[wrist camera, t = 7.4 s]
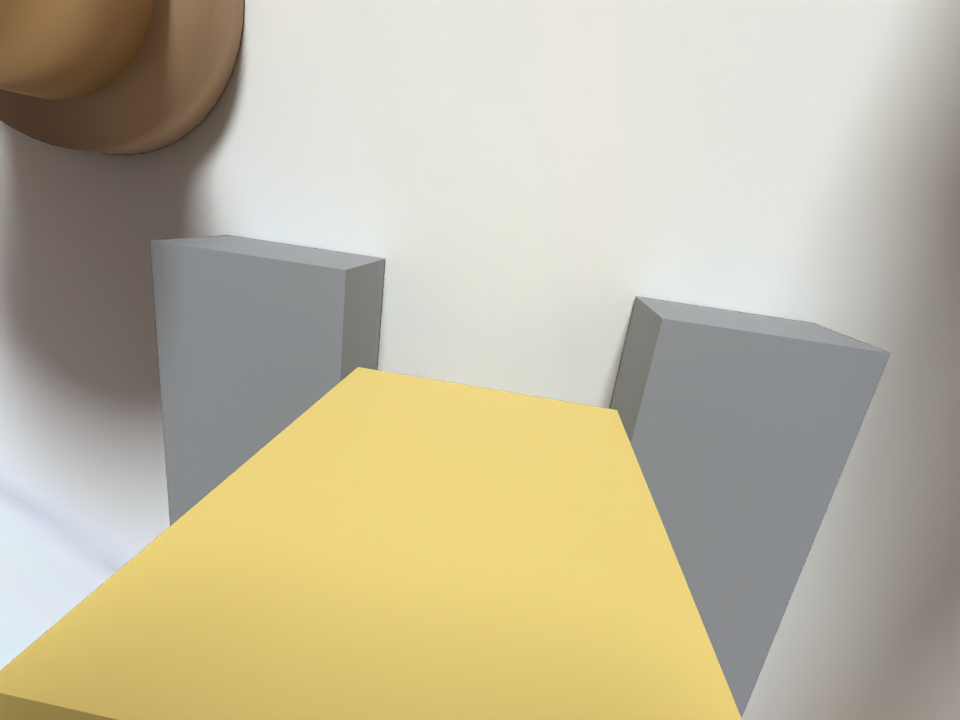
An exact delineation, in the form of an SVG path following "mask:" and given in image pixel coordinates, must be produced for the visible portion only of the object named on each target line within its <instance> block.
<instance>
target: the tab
mask: <svg viewBox="0 0 960 720" xmlns="http://www.w3.org/2000/svg"><path fill="white" fill-rule="evenodd" d="M0 720H742V719H741V716H740V714H739V711H738V709H737V706H736V704H735V701H734V699H733V696H732V694H731V691H730V689H729V686H728V684H727V681H726V679H725V677H724V674H723V672H722V669H721V667H720V664H719V662H718V659H717V657H716V654H715V652H714V649H713V647H712V644H711V642H710V639H709V637H708V634H707V632H706V629H705V627H704V625H703V622H702V620H701V617H700V615H699V612H698V610H697V607H696V605H695V602H694V600H693V597H692V595H691V592H690V590H689V587H688V585H687V582H686V580H685V577H684V575H683V572H682V570H681V568H680V565H679V563H678V560H677V558H676V555H675V553H674V550H673V548H672V545H671V543H670V540H669V538H668V535H667V533H666V530H665V528H664V525H663V523H662V520H661V518H660V515H659V513H658V511H657V508H656V506H655V503H654V501H653V498H652V496H651V493H650V491H649V488H648V486H647V483H646V481H645V478H644V476H643V473H642V471H641V468H640V466H639V463H638V461H637V459H636V456H635V454H634V451H633V449H632V446H631V444H630V441H629V439H628V436H627V434H626V431H625V429H624V426H623V424H622V421H621V419H620V416H619V414H618V411H617V410H614V409H608V408H602V407H596V406H590V405H584V404H578V403H572V402H566V401H560V400H554V399H548V398H542V397H536V396H530V395H524V394H517V393H511V392H505V391H499V390H493V389H487V388H481V387H475V386H469V385H463V384H457V383H451V382H445V381H439V380H433V379H427V378H421V377H415V376H409V375H403V374H397V373H391V372H385V371H379V370H373V369H367V368H361V367H357V368H356V369H355V370H354V371H353V372H351V373H350V374H349V375H348V376H347V377H346V378H344V379H343V380H342V381H341V382H340V383H339V384H337V385H336V386H335V387H334V388H333V389H331V390H330V391H329V392H328V393H327V394H326V395H324V396H323V397H322V398H321V399H320V400H318V401H317V402H316V403H315V404H314V405H313V406H311V407H310V408H309V409H308V410H307V411H306V412H304V413H303V414H302V415H301V416H300V417H298V418H297V419H296V420H295V421H294V422H293V423H291V424H290V425H289V426H288V427H287V428H286V429H284V430H283V431H282V432H281V433H280V434H278V435H277V436H276V437H275V438H274V439H273V440H271V441H270V442H269V443H268V444H267V445H265V446H264V447H263V448H262V449H261V450H260V451H258V452H257V453H256V454H255V455H254V456H253V457H251V458H250V459H249V460H248V461H247V462H245V463H244V464H243V465H242V466H241V467H240V468H238V469H237V470H236V471H235V472H234V473H233V474H231V475H230V476H229V477H228V478H227V479H225V480H224V481H223V482H222V483H221V484H220V485H218V486H217V487H216V488H215V489H214V490H212V491H211V492H210V493H209V494H208V495H207V496H205V497H204V498H203V499H202V500H201V501H200V502H198V503H197V504H196V505H195V506H194V507H192V508H191V509H190V510H189V511H188V512H187V513H185V514H184V515H183V516H182V517H181V518H180V519H178V520H177V521H176V522H175V523H174V524H172V525H171V526H170V527H169V528H168V529H167V530H165V531H164V532H163V533H162V534H161V535H159V536H158V537H157V538H156V539H155V540H154V541H152V542H151V543H150V544H149V545H148V546H147V547H145V548H144V549H143V550H142V551H141V552H139V553H138V554H137V555H136V556H135V557H134V558H132V559H131V560H130V561H129V562H128V563H127V564H125V565H124V566H123V567H122V568H121V569H119V570H118V571H117V572H116V573H115V574H114V575H112V576H111V577H110V578H109V579H108V580H106V581H105V582H104V583H103V584H102V585H101V586H99V587H98V588H97V589H96V590H95V591H94V592H92V593H91V594H90V595H89V596H88V597H86V598H85V599H84V600H83V601H82V602H81V603H79V604H78V605H77V606H76V607H75V608H74V609H72V610H71V611H70V612H69V613H68V614H66V615H65V616H64V617H63V618H62V619H61V620H59V621H58V622H57V623H56V624H55V625H53V626H52V627H51V628H50V629H49V630H48V631H46V632H45V633H44V634H43V635H42V636H41V637H39V638H38V639H37V640H36V641H35V642H33V643H32V644H31V645H30V646H29V647H28V648H26V649H25V650H24V651H23V652H22V653H21V654H19V655H18V656H17V657H16V658H15V659H13V660H12V661H11V662H10V663H9V664H8V665H6V666H5V667H4V668H3V669H2V670H0Z"/></svg>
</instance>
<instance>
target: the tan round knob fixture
mask: <svg viewBox="0 0 960 720" xmlns="http://www.w3.org/2000/svg"><path fill="white" fill-rule="evenodd" d="M243 9H244V0H0V120H2V121H3V122H5V123H6V124H8V125H9V126H11V127H12V128H14V129H16V130H18V131H20V132H22V133H24V134H26V135H28V136H30V137H32V138H34V139H37V140H40V141H43V142H46V143H48V144H51V145H56V146H61V147H65V148H70V149H77V150H84V151H91V152H98V153H105V154H118V155H131V154H142V153H147V152H150V151H154V150H158V149H161V148H163V147H165V146H168V145H170V144H172V143H175V142H176V141H178V140H179V139H181V138H182V137H184V136H185V135H187V134H188V133H190V132H191V131H192V130H193V129H194V128H195V127H196V126H198V125H199V124H200V123H201V122H202V121H203V120H204V119H205V118H206V116H207V115H208V114H209V113H210V111H211V110H212V109H213V108H214V106H215V105H216V103H217V101H218V100H219V98H220V96H221V95H222V93H223V91H224V90H225V88H226V85H227V83H228V81H229V78H230V76H231V73H232V71H233V68H234V65H235V61H236V58H237V54H238V50H239V46H240V40H241V33H242V27H243Z"/></svg>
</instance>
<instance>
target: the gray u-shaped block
mask: <svg viewBox="0 0 960 720" xmlns="http://www.w3.org/2000/svg"><path fill="white" fill-rule="evenodd" d="M150 248H151V262H152V276H153V290H154V304H155V319H156V333H157V347H158V361H159V375H160V389H161V403H162V417H163V431H164V445H165V459H166V473H167V487H168V501H169V515H170V526H171V525H172V524H174V523H175V522H176V521H177V520H178V519H180V518H181V517H182V516H183V515H184V514H185V513H187V512H188V511H189V510H190V509H191V508H192V507H194V506H195V505H196V504H197V503H198V502H200V501H201V500H202V499H203V498H204V497H205V496H207V495H208V494H209V493H210V492H211V491H212V490H214V489H215V488H216V487H217V486H218V485H220V484H221V483H222V482H223V481H224V480H225V479H227V478H228V477H229V476H230V475H231V474H233V473H234V472H235V471H236V470H237V469H238V468H240V467H241V466H242V465H243V464H244V463H245V462H247V461H248V460H249V459H250V458H251V457H253V456H254V455H255V454H256V453H257V452H258V451H260V450H261V449H262V448H263V447H264V446H265V445H267V444H268V443H269V442H270V441H271V440H273V439H274V438H275V437H276V436H277V435H278V434H280V433H281V432H282V431H283V430H284V429H286V428H287V427H288V426H289V425H290V424H291V423H293V422H294V421H295V420H296V419H297V418H298V417H300V416H301V415H302V414H303V413H304V412H306V411H307V410H308V409H309V408H310V407H311V406H313V405H314V404H315V403H316V402H317V401H318V400H320V399H321V398H322V397H323V396H324V395H326V394H327V393H328V392H329V391H330V390H331V389H333V388H334V387H335V386H336V385H337V384H339V383H340V382H341V381H342V380H343V379H344V378H346V377H347V376H348V375H349V374H350V373H351V372H353V371H354V370H355V369H356V368H357V367H361V368H367V369H373V370H377V362H378V348H379V335H380V321H381V307H382V294H383V280H384V266H385V259H383V258H377V257H370V256H363V255H357V254H350V253H343V252H337V251H330V250H323V249H317V248H310V247H303V246H297V245H290V244H283V243H277V242H270V241H263V240H257V239H250V238H243V237H237V236H230V235H221V236H206V237H191V238H175V239H160V240H150ZM889 356H890V353H889V352H886V351H884V350H881V349H879V348H876V347H874V346H871V345H868V344H866V343H863V342H861V341H858V340H856V339H853V338H851V337H848V336H845V335H843V334H840V333H838V332H835V331H833V330H830V329H827V328H825V327H822V326H820V325H817V324H815V323H810V322H803V321H796V320H790V319H783V318H776V317H770V316H763V315H756V314H750V313H743V312H736V311H730V310H723V309H716V308H710V307H703V306H696V305H690V304H683V303H676V302H670V301H663V300H657V299H650V298H643V297H637V296H636V298H635V303H634V307H633V311H632V315H631V320H630V324H629V328H628V333H627V337H626V341H625V345H624V350H623V354H622V358H621V363H620V367H619V371H618V375H617V380H616V384H615V388H614V393H613V397H612V401H611V405H610V409H614V410H617V411H618V414H619V416H620V419H621V421H622V424H623V426H624V429H625V431H626V434H627V436H628V439H629V441H630V444H631V446H632V449H633V451H634V454H635V456H636V459H637V461H638V463H639V466H640V468H641V471H642V473H643V476H644V478H645V481H646V483H647V486H648V488H649V491H650V493H651V496H652V498H653V501H654V503H655V506H656V508H657V511H658V513H659V515H660V518H661V520H662V523H663V525H664V528H665V530H666V533H667V535H668V538H669V540H670V543H671V545H672V548H673V550H674V553H675V555H676V558H677V560H678V563H679V565H680V568H681V570H682V572H683V575H684V577H685V580H686V582H687V585H688V587H689V590H690V592H691V595H692V597H693V600H694V602H695V605H696V607H697V610H698V612H699V615H700V617H701V620H702V622H703V625H704V627H705V629H706V632H707V634H708V637H709V639H710V642H711V644H712V647H713V649H714V652H715V654H716V657H717V659H718V662H719V664H720V667H721V669H722V672H723V674H724V677H725V679H726V681H727V684H728V686H729V689H730V691H731V694H732V696H733V699H734V701H735V704H736V706H737V709H738V711H739V714H740V716H741V718H742V715H743V713H744V710H745V708H746V705H747V703H748V701H749V698H750V696H751V693H752V691H753V688H754V686H755V683H756V681H757V679H758V676H759V674H760V671H761V669H762V666H763V664H764V661H765V659H766V657H767V654H768V652H769V649H770V647H771V644H772V642H773V639H774V637H775V635H776V632H777V630H778V627H779V625H780V622H781V620H782V617H783V615H784V613H785V610H786V608H787V605H788V603H789V600H790V598H791V595H792V593H793V591H794V588H795V586H796V583H797V581H798V578H799V576H800V573H801V571H802V569H803V566H804V564H805V561H806V559H807V556H808V554H809V551H810V549H811V547H812V544H813V542H814V539H815V537H816V534H817V532H818V529H819V527H820V525H821V522H822V520H823V517H824V515H825V512H826V510H827V507H828V505H829V503H830V500H831V498H832V495H833V493H834V490H835V488H836V485H837V483H838V481H839V478H840V476H841V473H842V471H843V468H844V466H845V463H846V461H847V459H848V456H849V454H850V451H851V449H852V446H853V444H854V441H855V439H856V437H857V434H858V432H859V429H860V427H861V424H862V422H863V419H864V417H865V415H866V412H867V410H868V407H869V405H870V402H871V400H872V397H873V395H874V393H875V390H876V388H877V385H878V383H879V380H880V378H881V375H882V373H883V371H884V368H885V366H886V363H887V361H888V358H889Z"/></svg>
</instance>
